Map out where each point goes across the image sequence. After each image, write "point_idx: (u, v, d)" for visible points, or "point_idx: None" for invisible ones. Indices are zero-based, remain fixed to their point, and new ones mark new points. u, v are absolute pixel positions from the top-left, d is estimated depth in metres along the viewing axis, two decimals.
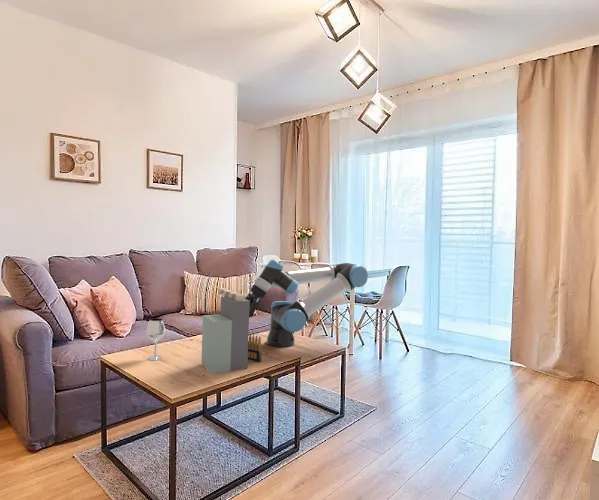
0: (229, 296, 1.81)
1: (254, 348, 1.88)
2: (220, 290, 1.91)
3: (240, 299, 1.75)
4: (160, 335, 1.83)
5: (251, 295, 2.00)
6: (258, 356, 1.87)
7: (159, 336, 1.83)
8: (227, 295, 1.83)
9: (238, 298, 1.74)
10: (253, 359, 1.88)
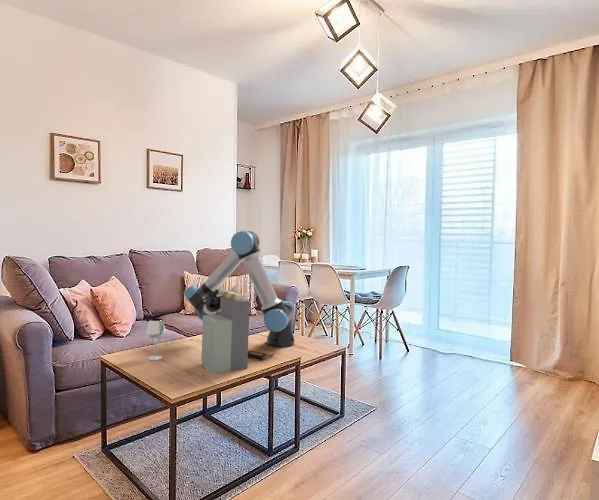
0: (227, 296, 1.81)
1: (263, 353, 1.95)
2: None
3: (239, 299, 1.75)
4: (160, 335, 1.83)
5: None
6: (264, 355, 1.91)
7: (159, 336, 1.83)
8: (225, 295, 1.83)
9: (237, 298, 1.74)
10: (257, 355, 1.91)
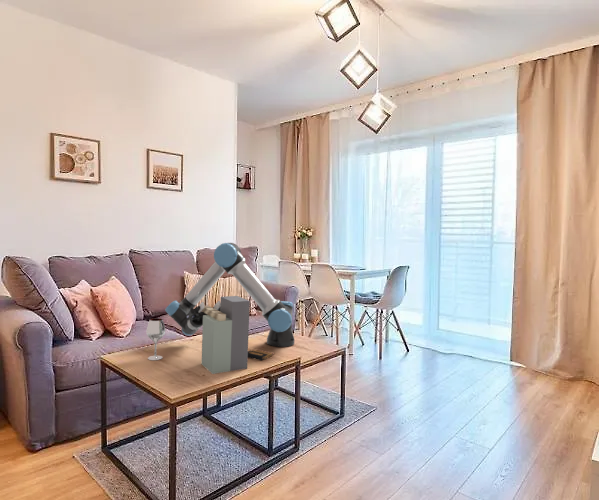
0: (211, 315, 1.77)
1: (263, 353, 1.95)
2: None
3: (222, 318, 1.71)
4: (160, 335, 1.83)
5: None
6: (264, 355, 1.91)
7: (159, 336, 1.83)
8: (209, 314, 1.79)
9: (220, 317, 1.70)
10: (257, 355, 1.91)
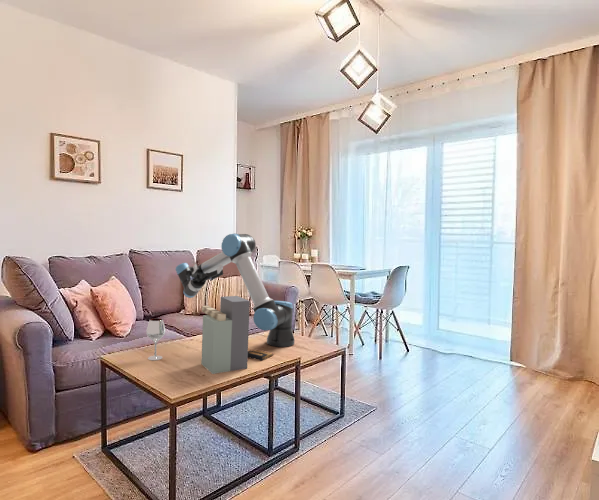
0: (211, 315, 1.77)
1: (263, 353, 1.95)
2: (203, 308, 1.87)
3: (222, 318, 1.71)
4: (160, 335, 1.83)
5: None
6: (264, 355, 1.91)
7: (159, 336, 1.83)
8: (209, 314, 1.79)
9: (220, 317, 1.70)
10: (257, 355, 1.91)
